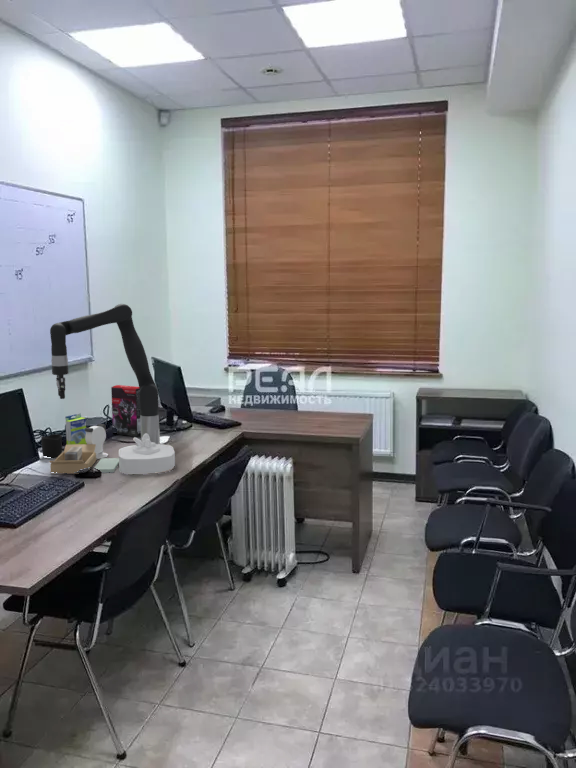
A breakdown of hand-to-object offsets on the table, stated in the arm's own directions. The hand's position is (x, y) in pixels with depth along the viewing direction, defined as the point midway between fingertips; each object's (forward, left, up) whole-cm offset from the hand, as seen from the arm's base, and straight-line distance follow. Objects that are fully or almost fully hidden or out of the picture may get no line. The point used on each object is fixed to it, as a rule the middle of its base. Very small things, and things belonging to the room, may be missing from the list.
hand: (61, 397), depth 308 cm
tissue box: (-44, +25, -29) cm, 58 cm away
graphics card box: (-25, -38, -28) cm, 54 cm away
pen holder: (+4, +6, -28) cm, 29 cm away
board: (-26, +25, -28) cm, 46 cm away
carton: (-11, +25, -28) cm, 39 cm away
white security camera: (-17, +6, -28) cm, 34 cm away
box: (-4, -9, -28) cm, 30 cm away
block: (-11, +25, -28) cm, 39 cm away
